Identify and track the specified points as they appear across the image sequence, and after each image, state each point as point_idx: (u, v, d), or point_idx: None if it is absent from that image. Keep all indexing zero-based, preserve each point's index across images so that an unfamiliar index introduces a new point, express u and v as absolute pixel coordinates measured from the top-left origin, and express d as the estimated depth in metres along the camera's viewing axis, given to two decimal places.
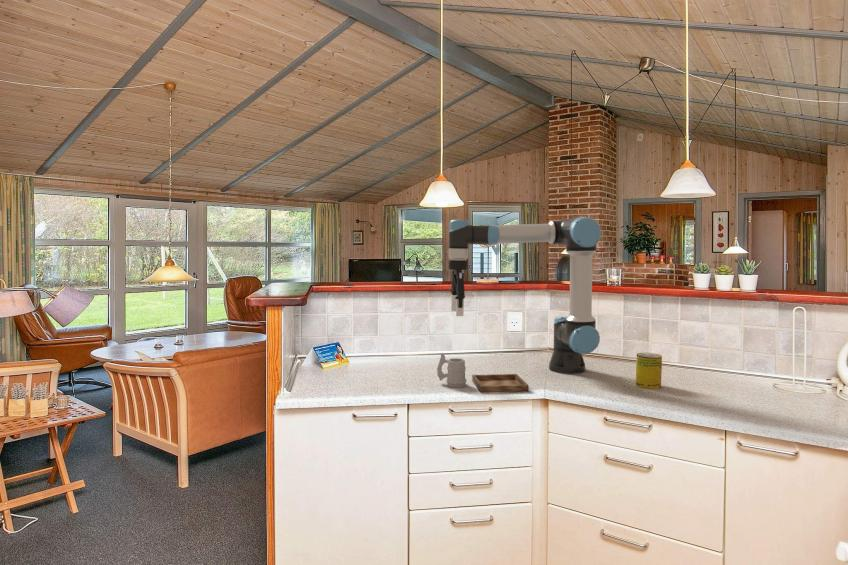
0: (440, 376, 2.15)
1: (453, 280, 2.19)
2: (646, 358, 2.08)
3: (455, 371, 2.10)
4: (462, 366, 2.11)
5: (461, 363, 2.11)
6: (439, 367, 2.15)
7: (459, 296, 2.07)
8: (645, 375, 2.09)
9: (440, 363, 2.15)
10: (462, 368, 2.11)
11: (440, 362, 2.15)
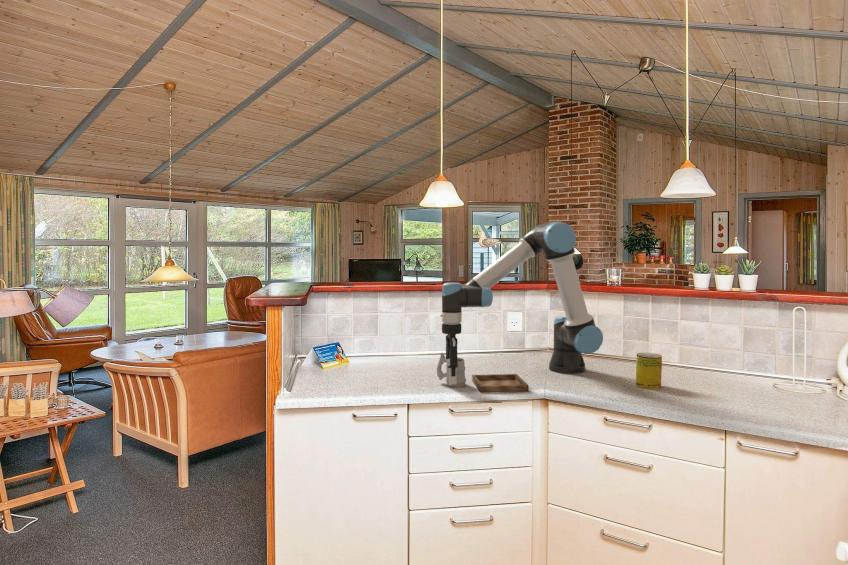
0: (440, 375, 2.16)
1: (447, 344, 2.14)
2: (646, 358, 2.08)
3: None
4: (462, 366, 2.12)
5: (461, 362, 2.11)
6: (439, 367, 2.16)
7: (452, 365, 2.06)
8: (645, 375, 2.09)
9: (440, 363, 2.16)
10: (462, 368, 2.11)
11: (440, 362, 2.16)
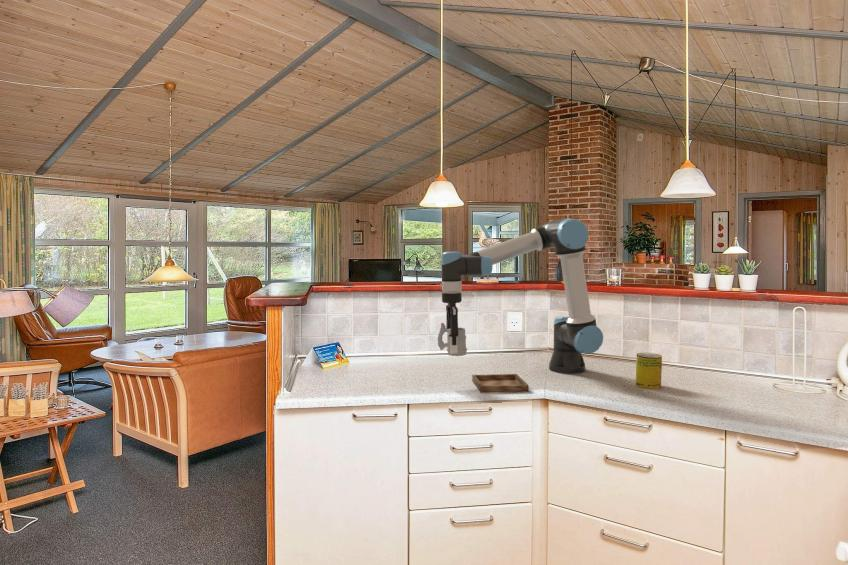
0: (440, 345, 2.15)
1: (447, 313, 2.14)
2: (646, 358, 2.08)
3: None
4: (462, 335, 2.11)
5: (461, 331, 2.10)
6: (439, 337, 2.15)
7: (453, 334, 2.05)
8: (645, 375, 2.09)
9: (440, 332, 2.15)
10: (463, 337, 2.11)
11: (440, 331, 2.15)
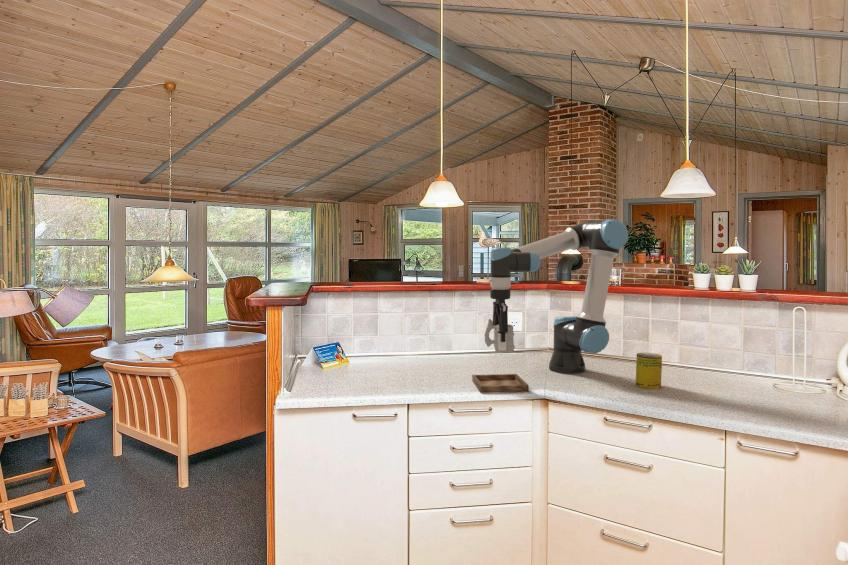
0: (487, 342, 2.13)
1: (495, 310, 2.11)
2: (646, 358, 2.08)
3: None
4: (511, 331, 2.08)
5: (510, 328, 2.08)
6: (487, 333, 2.13)
7: (502, 331, 2.03)
8: (645, 375, 2.09)
9: (488, 329, 2.12)
10: (511, 333, 2.08)
11: (488, 328, 2.12)
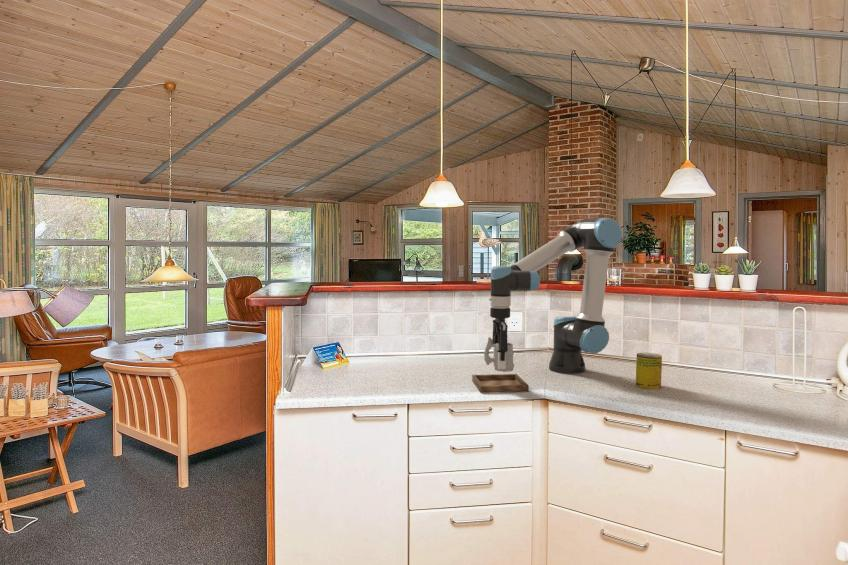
0: (487, 360, 2.13)
1: (495, 328, 2.12)
2: (646, 358, 2.08)
3: None
4: (510, 350, 2.09)
5: (510, 347, 2.09)
6: (486, 351, 2.13)
7: (502, 350, 2.04)
8: (645, 375, 2.09)
9: (487, 347, 2.13)
10: (510, 352, 2.09)
11: (487, 346, 2.13)
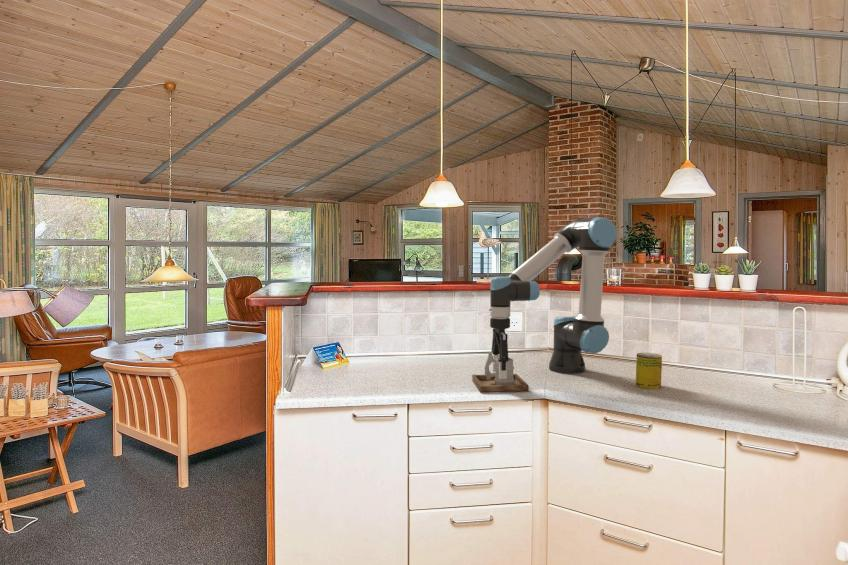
0: (487, 375, 2.14)
1: (495, 338, 2.12)
2: (646, 358, 2.08)
3: None
4: (511, 365, 2.10)
5: (510, 362, 2.09)
6: (487, 366, 2.14)
7: (503, 359, 2.03)
8: (645, 375, 2.09)
9: (488, 362, 2.14)
10: (511, 367, 2.09)
11: (488, 361, 2.13)
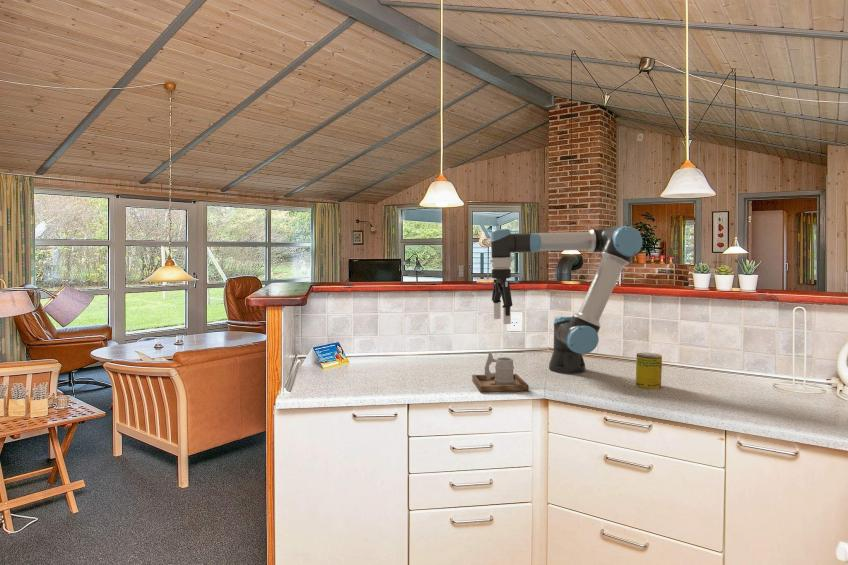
0: (487, 375, 2.14)
1: (496, 288, 2.22)
2: (646, 358, 2.08)
3: (504, 370, 2.09)
4: (511, 365, 2.10)
5: (510, 362, 2.09)
6: (487, 366, 2.14)
7: (507, 304, 2.10)
8: (645, 375, 2.09)
9: (488, 362, 2.14)
10: (511, 367, 2.09)
11: (488, 361, 2.13)
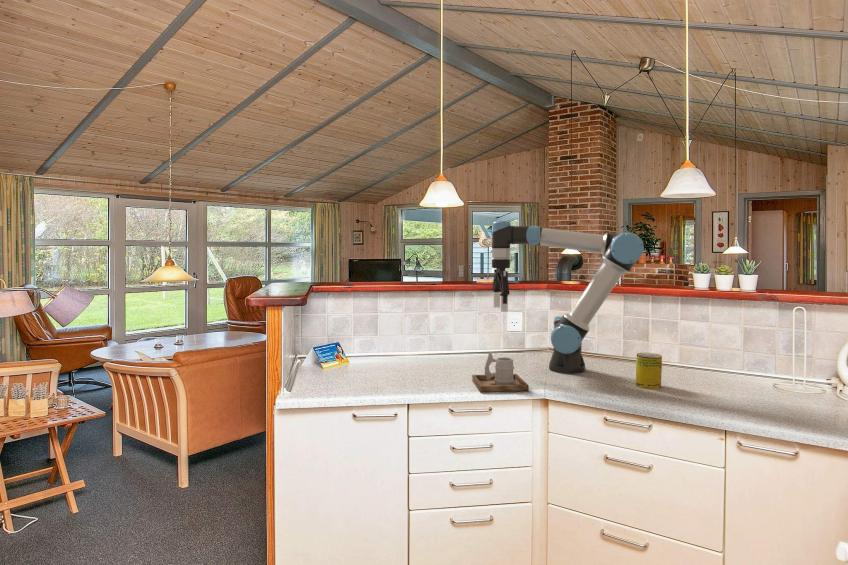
0: (487, 375, 2.14)
1: (496, 278, 2.32)
2: (646, 358, 2.08)
3: (504, 370, 2.09)
4: (511, 365, 2.10)
5: (510, 362, 2.09)
6: (487, 366, 2.14)
7: (504, 293, 2.21)
8: (645, 375, 2.09)
9: (488, 362, 2.14)
10: (511, 367, 2.09)
11: (488, 361, 2.13)
